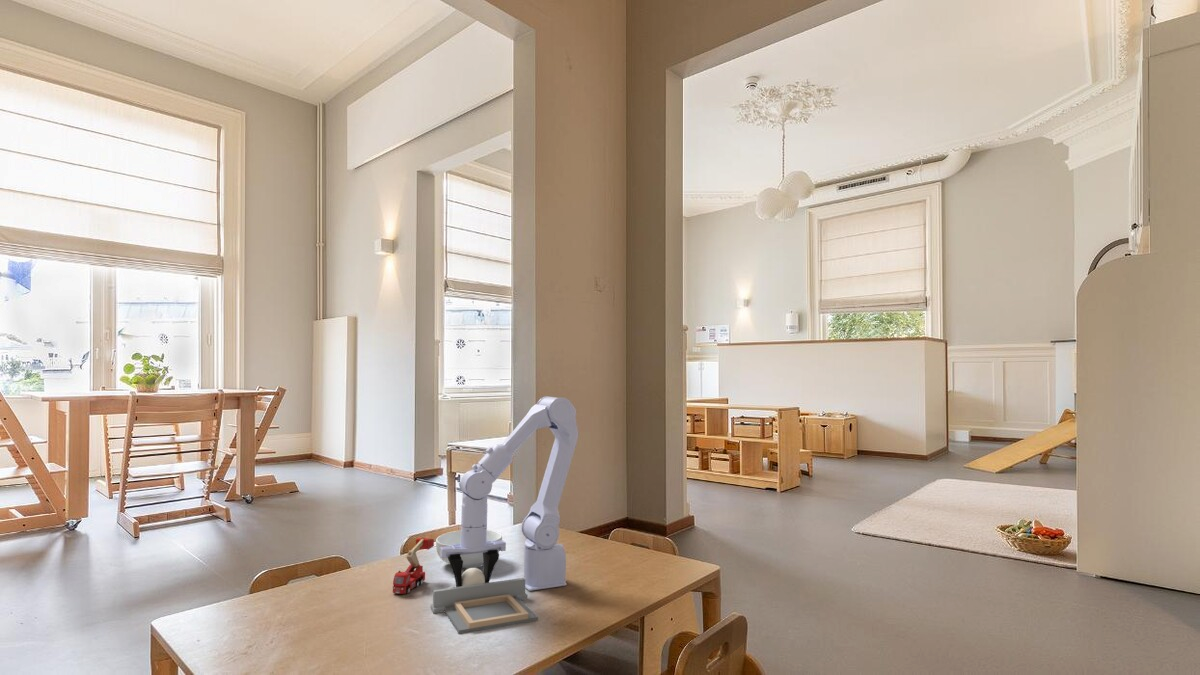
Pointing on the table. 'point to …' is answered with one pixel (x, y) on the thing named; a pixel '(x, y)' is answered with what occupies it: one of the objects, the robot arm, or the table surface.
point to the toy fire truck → (412, 569)
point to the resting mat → (488, 613)
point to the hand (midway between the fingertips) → (472, 586)
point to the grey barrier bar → (477, 593)
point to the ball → (472, 577)
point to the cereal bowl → (455, 538)
